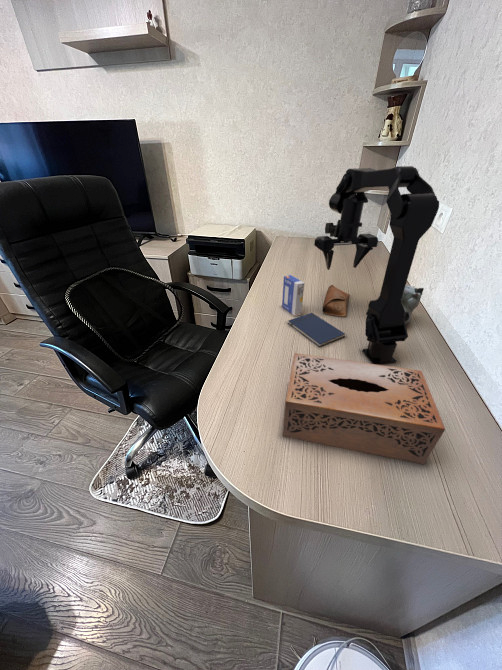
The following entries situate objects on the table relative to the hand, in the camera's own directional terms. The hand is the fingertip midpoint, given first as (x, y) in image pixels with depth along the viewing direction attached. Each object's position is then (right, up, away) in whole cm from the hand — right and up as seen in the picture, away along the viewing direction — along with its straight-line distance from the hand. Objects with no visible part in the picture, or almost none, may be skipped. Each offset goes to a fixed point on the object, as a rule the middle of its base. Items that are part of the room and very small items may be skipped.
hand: (341, 268), depth 91 cm
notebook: (-9, -20, -4) cm, 23 cm away
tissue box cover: (-9, -40, -32) cm, 52 cm away
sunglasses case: (+2, -11, +11) cm, 15 cm away
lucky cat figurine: (+17, -16, +2) cm, 24 cm away
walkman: (-15, -13, +7) cm, 22 cm away
